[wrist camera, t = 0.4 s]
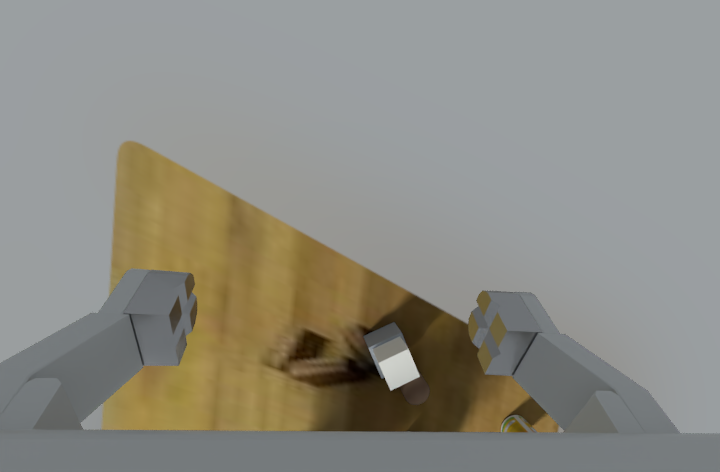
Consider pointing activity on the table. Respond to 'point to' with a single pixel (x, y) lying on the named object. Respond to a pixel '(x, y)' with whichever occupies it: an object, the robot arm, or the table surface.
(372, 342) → the base block
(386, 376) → the top block
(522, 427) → the supplement bottle
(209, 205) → the table surface
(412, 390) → the walnut cylinder
